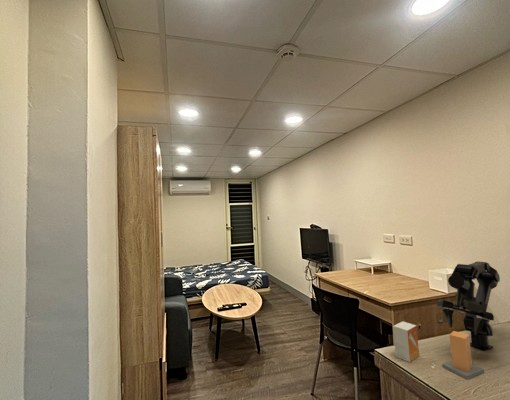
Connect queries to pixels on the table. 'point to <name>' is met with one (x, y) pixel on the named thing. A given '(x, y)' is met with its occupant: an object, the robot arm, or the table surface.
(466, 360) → the orange block on stand
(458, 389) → the table surface
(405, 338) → the small box
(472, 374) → the plate
